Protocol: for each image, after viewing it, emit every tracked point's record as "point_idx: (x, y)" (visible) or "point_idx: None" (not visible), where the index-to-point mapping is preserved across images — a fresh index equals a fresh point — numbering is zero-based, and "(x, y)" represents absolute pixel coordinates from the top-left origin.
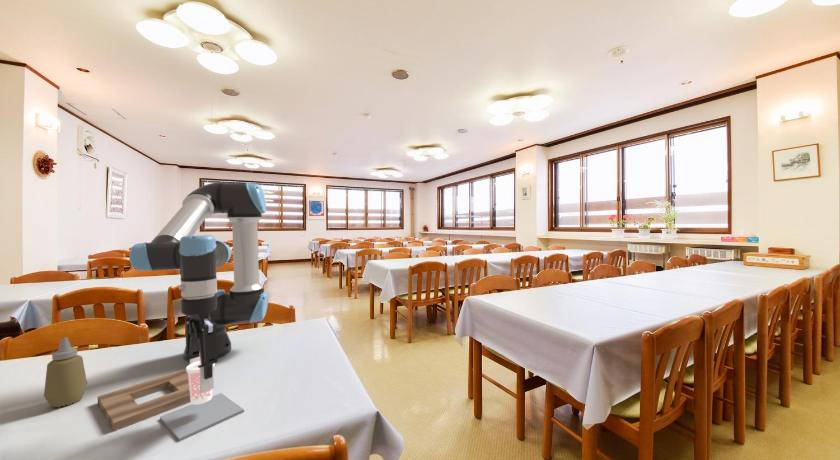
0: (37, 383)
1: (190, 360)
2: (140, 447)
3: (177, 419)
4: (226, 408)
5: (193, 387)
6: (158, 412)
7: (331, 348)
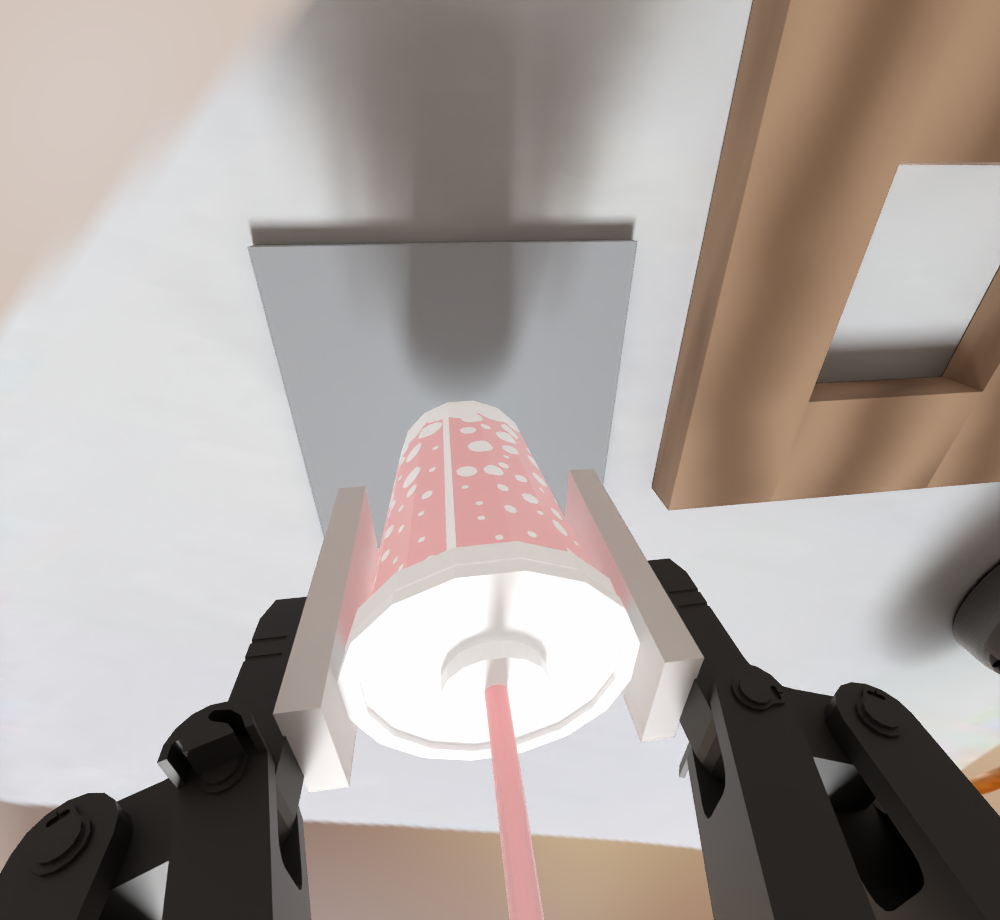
0: None
1: (665, 656)
2: (362, 31)
3: (507, 306)
4: None
5: (418, 476)
6: (707, 252)
7: (572, 830)
